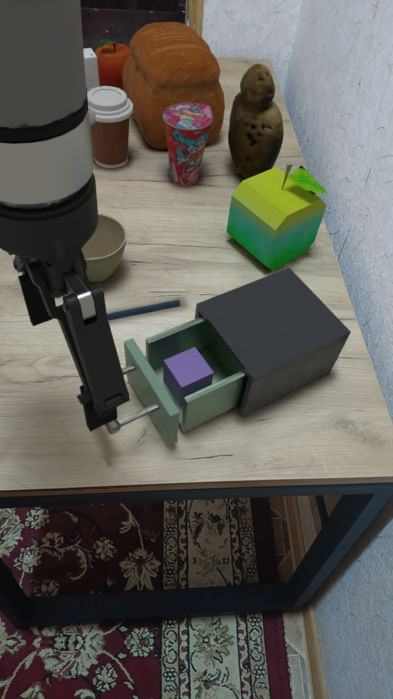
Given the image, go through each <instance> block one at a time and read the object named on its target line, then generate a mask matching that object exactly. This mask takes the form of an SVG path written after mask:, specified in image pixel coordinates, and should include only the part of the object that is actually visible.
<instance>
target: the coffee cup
mask: <svg viewBox="0 0 393 699" xmlns="http://www.w3.org/2000/svg"><path fill="white" fill-rule="evenodd" d="M87 97H88V106H89V108H91V109H92V110H93V112H94V113H95V115H96V122H95V124H93V125H91V126H90V132H91V142H92V154H93V161H94V162H95V163H96V165H98V166H99V167H102V168H106V169H117V168H121V167H123V166H125V165H126V164H127V162H129V141H130V140H129V138H130V117H131V116H133V103H132V102H131V101H130V99H128V98H127V95H126V93H125V92H124V89H123V90H121V89H119V88H116V87H112V86H102V85H100V87H96V88H93V89H91V90H90V91H89V92H88V93H87Z"/></svg>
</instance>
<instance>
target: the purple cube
mask: <svg viewBox="0 0 393 699" xmlns="http://www.w3.org/2000/svg"><path fill="white" fill-rule="evenodd" d="M213 375H214V372H213V371H212V370H211V368H210V367H209V365H208V364H207V363H206V361H205V360H204V358H203V357H202V356H201V354H200V353H199V351H198V350H197V349H196V347H193V348H191V349H189V350H186V351H184V352H182V353H179V354H177V355H175V356H172V357H170V358H168V359H165V360H164V369H163V381H164V382H165V384H166V386H167V387H168V389H169V390H170V392H171V393H172V395H173V396H174V398H175V400H176V401H177V403H178V404H179V406H180V407H181V406H183V402H184V397H186V396H188V395H190V394H193V393H195V392H197V391H199V390H201V389H203V388H205V387H208V386H210V385H212V380H213Z"/></svg>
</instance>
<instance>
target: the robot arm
mask: <svg viewBox="0 0 393 699" xmlns="http://www.w3.org/2000/svg"><path fill="white" fill-rule="evenodd" d="M81 8H82V7H81V0H0V249H1V250H2V251H4V252H6V253H7V254H8V256H14V258H13V260H12V265H13V269H14V270H15V271H16V272H17V273H18V274H20V273H21V275H18V276H17V278H18V281H19V282H18V283H19V285H20V286H19V287H20V289H21V292H22V296H23V300H24V303H25V307H26V311H27V315H28V318H29V321H30V323H31V326H32V327H35V326H40V325H41V324H43V323H47V322H49V321H52V320H57V321H58V324H59V327H60V329H61V332H62V335H63V338H64V339H65V343H66V345H67V347H68V350H69V352H70V355H71V358H72V360H73V363H74V366H75V369H76V371H77V374H78V376H79V379H80V381H81V383H82V384H81V385H80V386H79V391H80V392H79V393H80V394H78V395H76V398H77V400H78V403H79V404H80V405H82V409H83V414H84V418H85V424H86V427H87V429H88V431H89V432H90V433H91V432H92V431H95V430H97V429H99V428H101V427H103V426H105V424H107V423H109V422H112V421H114V420H116V419H117V420H119V418H118V407H119V406H122V405H124V404H127V403H128V402H130V401H131V397H130V396H131V395H130V392H129V391H128V387H127V383H126V379H125V375H123V372H122V368H123V367H122V365H121V361H120V357H119V354H118V351H117V347H116V344H115V340H114V336H113V332H112V329H111V326H110V322H109V320H108V318H107V314H108V312H107V306H106V298H105V292H104V289H102V288H101V286H100V284H95V285H92V286H91V282H89V279H88V276H87V274H86V270H87V263H86V261H85V258H84V255H83V252H82V250H81V249H82V248H83V246H84V245H85V244H86V243H87V241H88V240H89V239H90V238H91V237H92V235H93V234H94V232H95V230H96V228H97V225H98V213H99V206H98V194H97V182H96V176H95V173H94V153H93V148H92V142H91V132H90V126H91V125H93V124H95V122H96V115H95V113H94V112H93V110H92V109H91V108H89V106H88V97H87V87H86V80H85V65H84V50H83V49H84V38H83V24H82V23H83V22H82V21H83V20H82V9H81ZM60 298H62V304H59V305H57V303H56V299H60Z"/></svg>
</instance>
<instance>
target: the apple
mask: <svg viewBox="0 0 393 699" xmlns="http://www.w3.org/2000/svg"><path fill="white" fill-rule="evenodd" d="M292 167H293V164H287V165H286V168H285V171H283V170H282V169H281V168H279V167H278V166H275V167H272V169H270V170H267V171H265V172H263V173H260V174H258V175H255V176H253V177H251V178H248V179H247V178H245V179H243V180H242V181H241V182H240V184H239V185H238V186H237V187H236V189H235V190H234V192H232V194H231V198H230V204H229V212H228V218H227V225H226V231H225V232H226V234H228V235H229V236H230V237H231V238H233V239H234V240H235V241H236V242H237V243H238V244H240V245H241V246H242V247H243V248H244V249H245V250H246V251H247V252H249V253H250V254H251V255H252V256H253V257H254V258H256V259H257V260H258V261H259V262H260V263H262V265H263V266H265V267H266V268H267V269H269V270H271V271H275V270H277V269H280V268H281V267H283V266H285V265H286V264H289V263H291V262H292V261H294V260H296V259H298V258H300V257H302V256H303V255H305V254H306V252H308V250H309V249H310V248H311V247H312V246H313V245H314V243H315V241H316V238H317V236H318V233H319V230H320V227H321V224H322V221H323V218H324V216H325V211H326V208H327V204H326V203H325V202H324V200H323V199H322V198H320V196H318V195H322V194H328V193H329V192H328V191H327V190H326V189H325V188H324V187H323V186H322V184H320V183H319V181H318V180H317V179H316V178H315V177H314V176H313V175H312V174H311V173H310V172H309V171H308V170H307V169H306V168H305V167H304V166H303V165H302V164H301V165H300V166H299V167H298V168H297V169H295V170H293V172H291V169H292ZM290 172H291V173H290Z"/></svg>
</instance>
